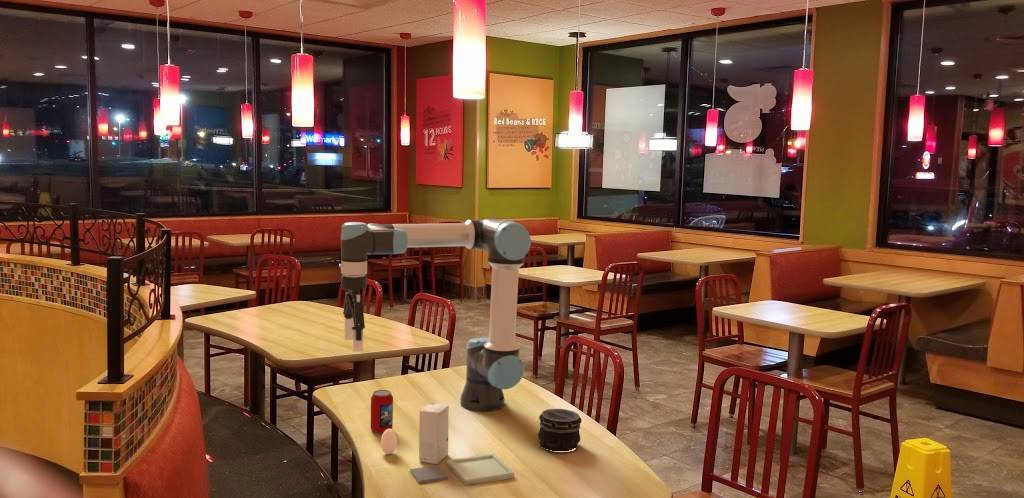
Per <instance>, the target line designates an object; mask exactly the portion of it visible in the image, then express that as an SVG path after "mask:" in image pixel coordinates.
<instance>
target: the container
mask: <svg viewBox="0 0 1024 498" xmlns="http://www.w3.org/2000/svg"><path fill="white" fill-rule="evenodd" d="M538 420H539V431H538V434H537V437H538V440H539V446H540V445H541V446H540V448H541V447H543V448H545V449H548V450H552V451H569V450H572V449H574V448H576V447H577V448H578V444H579V443H580V441H581V432H580V429H581V423H582V418H581V416H580V414H579V413H577V412H576V411H573V410H570V409H565V408H549V409H548V408H547V409H545V410H543V411H542V412H541V414H539V417H538Z"/></svg>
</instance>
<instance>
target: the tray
mask: <svg viewBox="0 0 1024 498" xmlns="http://www.w3.org/2000/svg"><path fill="white" fill-rule="evenodd" d="M446 463H447V464H446V465H447V467H449V469H450V470H451V471H452V472H453V473H454V474H455V476H456V477H458V479H459V480H460V481H461V482H462V484H464V486H469V485H475V484H482V483H488V482H494V481H495V482H496V481H503V480H508V479H514V478H515V472H514V471H513V470H512V469H511V468H510V467H509V466H508V465H507V464H506V463H505V462H504V461H502V460H501V459H500V458H499V457H498V455H496V454H495V453H488V454H487V453H486V454H479V455H473V456H465V457H458V458H451V459H447V462H446Z"/></svg>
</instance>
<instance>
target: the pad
mask: <svg viewBox="0 0 1024 498" xmlns="http://www.w3.org/2000/svg"><path fill="white" fill-rule="evenodd" d="M409 470H410V471H409V472H410V474H411V475H412V476H413V478H414V479H415V480H416V481H417V483H418V484H419V485H420V484H426V483H432V482H440V481H446V480H449V476H448V475H447V473H446V472H445V471H444V470H443V469H442V467H440V466H439V464H434V465H429V466H423V467H415V468H414V467H413V468H411V469H409Z"/></svg>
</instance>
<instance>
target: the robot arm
mask: <svg viewBox="0 0 1024 498" xmlns="http://www.w3.org/2000/svg"><path fill="white" fill-rule="evenodd" d="M531 242H532V240H531V235H530V233H529V231H528V230H527V228H526V227H525V226H524V225H522V224H520V223H518V222H517V221H515V220H509V219H503V218H499V217H492V218H479V219H466V221H465V222H458V223H456V222H453V223H452V222H451V223H447V222H445V223H392V224H390V223H388V224H387V223H386V224H385V223H384V224H381V223H380V224H379V223H375V222H373V223H372V222H371V223H368V224H367V223H365V222H362V221H361V222H359V221H349V222H345V223H343V224H342V225H341V233H340V246H341V247H340V253H341V254H340V255H341V257H340V260H341V261H340V262H341V263H339V265H338V267H339V268H340V273H341V274H342V275H341V276H340V287H341V289H342V290H344V291H345V292H344V293H345V294H344V303H343V313H342V315H344V316H343V318H344V341H351V340H352V352H363V351H364V329H365V328H366V325H365V315H364V305H363V304H364V303H363V299H364V296H363V294H361V293H360V292H361V290H364V289H367V285H368V282H367V281H368V280H367V279H368V276H367V274H368V255H397V254H404V253H406V251H407V248H438V247H442V248H443V247H446V248H447V247H465V248H466V249H468V250H481V251H485V252H487V263H488V264H489V265H490V267H491V285H490V289H491V290H490V304H489V305H490V309H489V329H488V330H489V331H488V332H489V334H488V337H487V336H486V337H476V338H475V337H474V338H470V339H469V340H467V345H466V374H465V375H466V377H465V379H466V380H465V384H464V387H463V390H462V392H461V395H460V405H461V406H462V407H463V408H466V409H468V410H471V411H477V412H478V411H480V412H484V411H485V412H486V411H487V412H488V411H496V410H500V409H502V408H503V407H504V406H505V399H506V398H505V395H504V392H503V390H508V389H513V388H514V387H515V386H517V384H518V383H519V382H521V380H522V379H523V377H524V373H525V365H524V363H523V361H522V359H521V358H520V345H519V344H518V342H516V332H517V330H516V329H517V311H518V310H517V309H518V295H519V293H518V292H519V288H518V287H519V273H520V270H519V269H520V268H521V267H522V266H523V265H524V264H525V257H526V255H527V254H528V253H529V251H530V248H531V246H532V243H531ZM501 407H502V408H501Z"/></svg>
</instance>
